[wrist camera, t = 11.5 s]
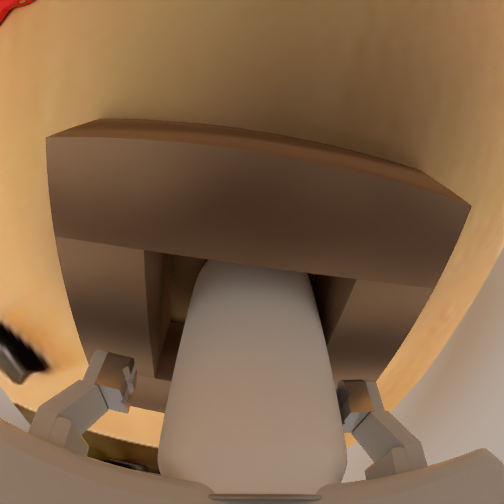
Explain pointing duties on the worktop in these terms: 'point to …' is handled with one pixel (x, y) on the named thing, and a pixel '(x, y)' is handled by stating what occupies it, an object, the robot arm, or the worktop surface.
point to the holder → (241, 235)
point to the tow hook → (11, 6)
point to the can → (253, 389)
